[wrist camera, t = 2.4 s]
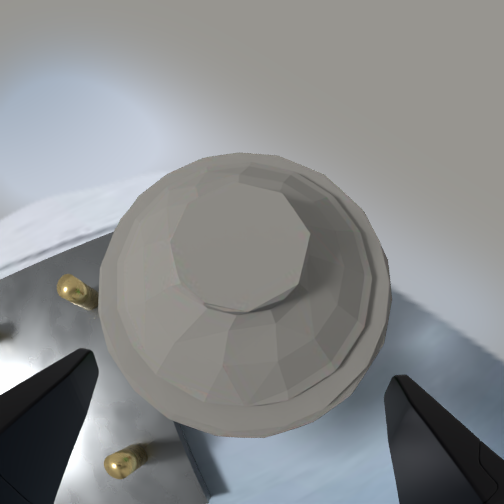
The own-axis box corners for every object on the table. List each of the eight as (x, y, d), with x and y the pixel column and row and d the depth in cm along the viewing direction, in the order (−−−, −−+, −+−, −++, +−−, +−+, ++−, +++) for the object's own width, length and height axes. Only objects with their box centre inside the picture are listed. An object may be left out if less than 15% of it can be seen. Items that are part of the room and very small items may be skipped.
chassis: (211, 496, 15) (201, 523, 11) (24, 511, 13) (-8, 523, 9) (125, 237, 21) (101, 207, 17) (-28, 301, 19) (-60, 286, 15)
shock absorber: (179, 317, 19) (34, 174, 5) (273, 275, 20) (312, 69, 6) (222, 412, 17) (132, 515, 3) (319, 367, 18) (492, 326, 4)
